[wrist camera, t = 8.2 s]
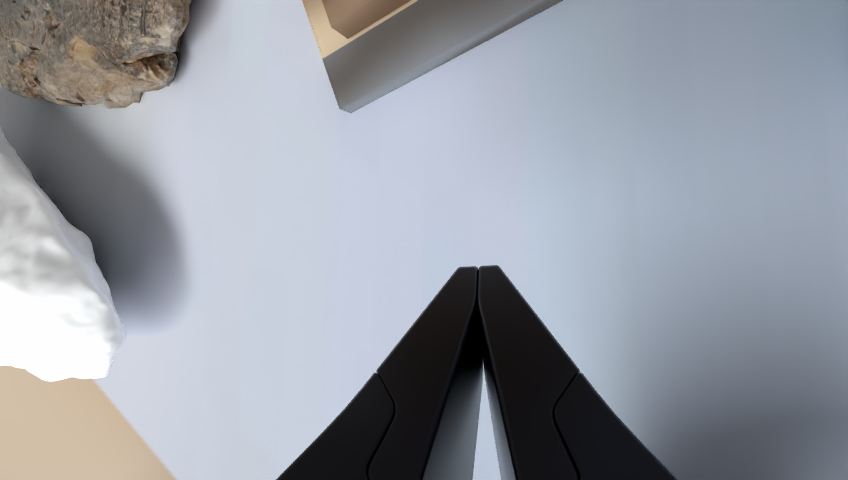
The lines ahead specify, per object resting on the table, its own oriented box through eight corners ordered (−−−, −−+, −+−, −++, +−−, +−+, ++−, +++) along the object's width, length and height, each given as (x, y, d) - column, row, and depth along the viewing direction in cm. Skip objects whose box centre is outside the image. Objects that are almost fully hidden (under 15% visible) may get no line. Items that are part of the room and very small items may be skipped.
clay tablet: (232, -88, 26) (37, -84, 32) (159, -147, 21) (-53, -130, 27) (215, 135, 28) (38, 99, 34) (148, 125, 24) (-42, 86, 30)
